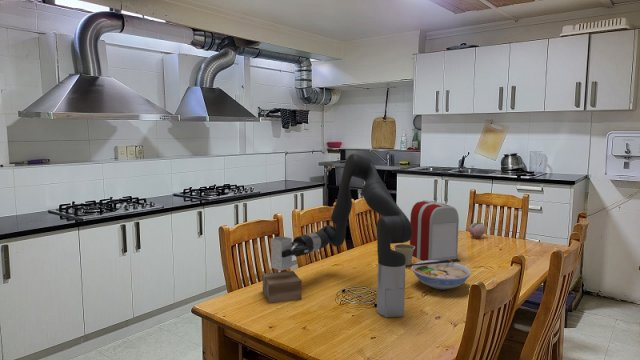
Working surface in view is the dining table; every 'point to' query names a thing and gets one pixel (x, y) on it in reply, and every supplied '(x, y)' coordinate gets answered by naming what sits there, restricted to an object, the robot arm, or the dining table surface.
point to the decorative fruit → (477, 229)
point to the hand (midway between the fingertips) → (276, 253)
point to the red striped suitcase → (434, 231)
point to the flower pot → (405, 251)
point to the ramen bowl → (441, 273)
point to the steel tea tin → (280, 253)
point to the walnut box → (282, 286)
